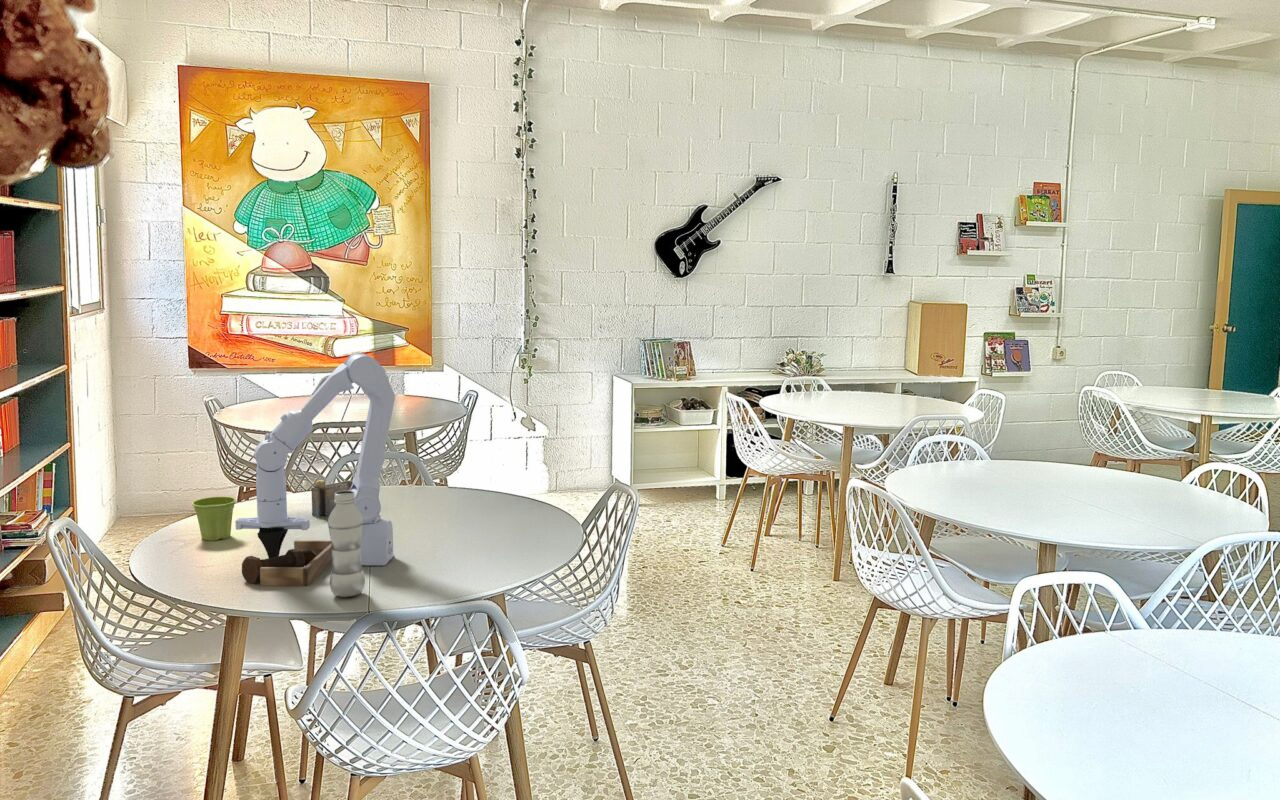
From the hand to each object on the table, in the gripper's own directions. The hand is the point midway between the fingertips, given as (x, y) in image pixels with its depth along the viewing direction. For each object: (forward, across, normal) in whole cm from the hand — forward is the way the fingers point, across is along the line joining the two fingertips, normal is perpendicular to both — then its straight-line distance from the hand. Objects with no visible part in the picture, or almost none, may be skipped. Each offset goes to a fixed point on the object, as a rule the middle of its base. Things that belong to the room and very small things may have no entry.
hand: (274, 563), depth 207 cm
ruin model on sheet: (+2, -2, +50) cm, 50 cm away
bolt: (+2, +3, -3) cm, 4 cm away
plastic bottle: (+2, +20, -16) cm, 25 cm away
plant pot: (+2, -22, +25) cm, 34 cm away
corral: (+1, +5, 0) cm, 5 cm away
